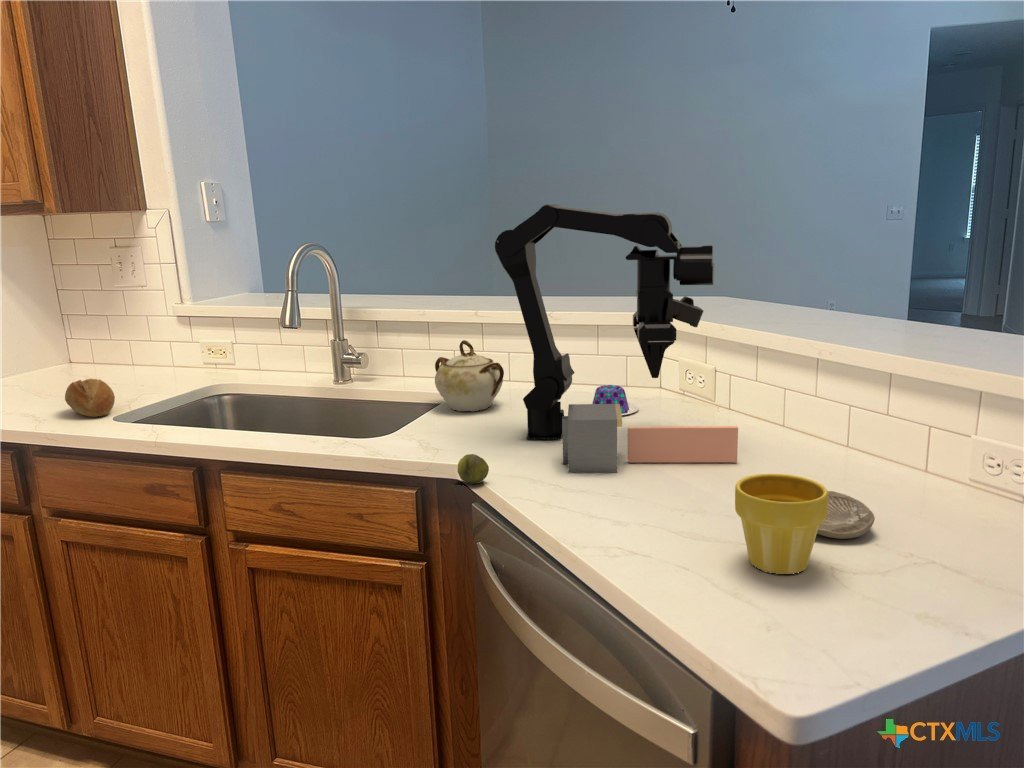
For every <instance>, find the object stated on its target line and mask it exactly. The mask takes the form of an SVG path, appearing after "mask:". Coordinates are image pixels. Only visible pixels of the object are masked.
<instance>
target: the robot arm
mask: <svg viewBox="0 0 1024 768" xmlns="http://www.w3.org/2000/svg"><path fill="white" fill-rule="evenodd" d="M555 228H559V229H566V230H575V231H580V232H587V233H588V232H589V233H594V234H595V233H596V234H603V235H604V234H605V235H610V236H614V237H618V238H621V239H624V240H626V241H629V242H631V243H632V242H633V243H635V244H637V245H635V246H633V247H632V250H631V251H630V252H629V253H628V254H627V255H626V256H625V260H626V261H636V274H637V275H636V290H635V295H636V311H635V313H633V315H632V326H633V331H634V334H635V335H636V339H637V341H638V344H639V347H640V350H641V353H642V355H643V358H644V360H645V362H646V366H647V368H648V371H649V374H650V376H651V378H652V379H658V378H659V377H660V376H659V375H660V374H661V368H662V364H663V360H664V357H665V356H664V355H665V352H666V350H667V349H669V347H671V346H672V345H674V344H675V342H676V341H677V328H676V326H674V325H673V324H672V323H674V320H677V321H679V322H682V323H685V324H687V325H689V326H690V327H693V328H698V326H699V323H700V321H701V318H702V316H703V314H704V309H702V308H701V307H699V306H698V305H695V302H694V299H693V298H691V297H688V296H686V295H684V296H683V297H682V298H681V299H676V298H674V293H673V292H671V260H673V263H672V264H673V265H672V266H673V267H672V268H673V270H672V275H673V280H676V282H677V281H679V285H680V286H714V282H715V281H714V279H715V263H714V246H713V245H712V244H704V245H701V246H683V245H682V243H681V241H680V240H678V238H677V237H676V235H674V233H673V225H672V222H671V220H670V218H669V217H668V216H667V215H666V214H664V213H663V212H660V211H659V212H658V211H657V212H655V211H653V212H636V213H635V212H634V213H633V212H632V213H621V214H620V213H612V212H606V211H597V210H591V209H582V208H574V207H568V206H567V207H566V206H559V205H558V204H551V203H550V204H545V205H542V206H541V207H540V208H539V209H538V210H537V211H536V212H534V214H532V215H530V217H528V218H527V219H525V220H524V221H522V222H521V223H519V224H518V225H516V226H515V228H513V229H512V228H511V229H507V230H504V231H502V232H501V233H500V234H499V235H498V236H497V238H496V240H495V242H494V251H495V253H496V255H497V257H498V259H499V261H500V263H501V265H502V268H503V269H504V271H505V272H506V274H507V275H508V276H509V278H510V280H511V281H512V283H513V288H514V290H515V294H516V297H517V300H518V305H519V307H520V311H521V315H522V319H523V322H524V325H525V330H526V332H527V336H528V339H529V342H530V347H531V349H532V354H533V364H532V373H533V375H532V377H533V383H534V385H533V386H534V387H533V388H532V389H531V390H530V391H529V392H528V393H527V394H526V395H525V396H524V397H523V398H522V400H523V403H524V406H525V408H526V413H527V414H526V415H527V417H526V418H527V434H526V440H562V416H565V411H564V409H562V407H561V405H562V402H561V401H560V400H561V399H562V396H563V395H564V394H565V393H566V392H567V391H568V390H569V389H570V387H571V385H572V383H573V375H574V374H575V371H574V370H573V367H572V365H571V361H570V360H571V359H570V354H569V353H565V354H563V355H562V354H561V352H560V351H559V349H558V348H557V346H556V342H555V339H554V336H553V335H554V334H553V333H552V332H553V331H552V328H551V325H550V320H549V318H548V314H547V310H546V307H545V303H544V299H543V296H542V292H541V289H540V286H539V285H540V284H539V282H538V277H537V275H536V274H537V268H536V267H537V252H536V245H537V243H539V242H541V240H543V239H544V238H545V237H546V236H547V235H548V234H549V233H550V232H551V231H552V230H553V229H555ZM639 245H641V246H645V247H647V248H655V247H656V248H658V249H660V250H661V251H662V252H664V253H666V254H669V255H666V254H665V255H662V254H661V255H660V254H659V251H658V249H641V248H640V247H639ZM671 254H673V255H671Z"/></svg>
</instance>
